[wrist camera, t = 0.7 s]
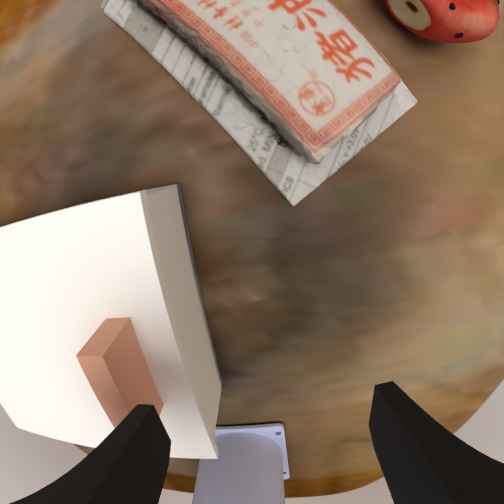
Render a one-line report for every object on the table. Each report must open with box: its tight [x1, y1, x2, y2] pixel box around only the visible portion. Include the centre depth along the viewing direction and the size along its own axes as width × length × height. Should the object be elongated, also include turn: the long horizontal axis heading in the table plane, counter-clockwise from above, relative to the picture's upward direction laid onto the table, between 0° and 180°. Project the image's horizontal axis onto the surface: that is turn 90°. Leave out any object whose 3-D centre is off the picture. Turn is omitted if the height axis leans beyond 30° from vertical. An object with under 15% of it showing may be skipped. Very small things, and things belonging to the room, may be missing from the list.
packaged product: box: [100, 0, 418, 206], centre depth 12 cm, size 18×5×10 cm
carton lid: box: [0, 190, 219, 459], centre depth 12 cm, size 15×17×3 cm
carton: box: [1, 183, 223, 438], centre depth 17 cm, size 14×16×6 cm
